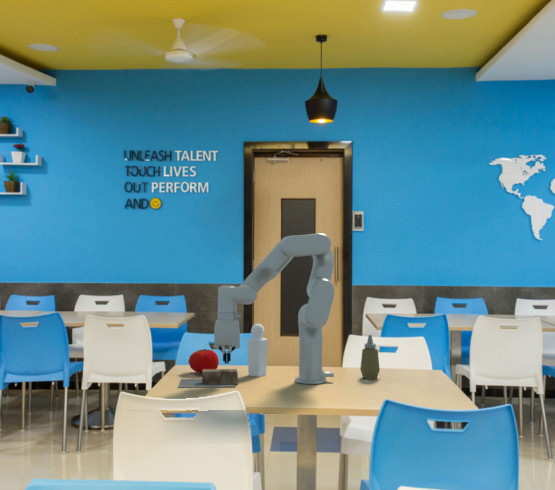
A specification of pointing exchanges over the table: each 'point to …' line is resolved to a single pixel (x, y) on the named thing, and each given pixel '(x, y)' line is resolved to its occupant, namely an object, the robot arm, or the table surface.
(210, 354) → the tomato
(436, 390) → the table surface
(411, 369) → the table surface
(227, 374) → the walnut block
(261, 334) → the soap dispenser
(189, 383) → the grey rubber mat
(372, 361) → the squeeze bottle
